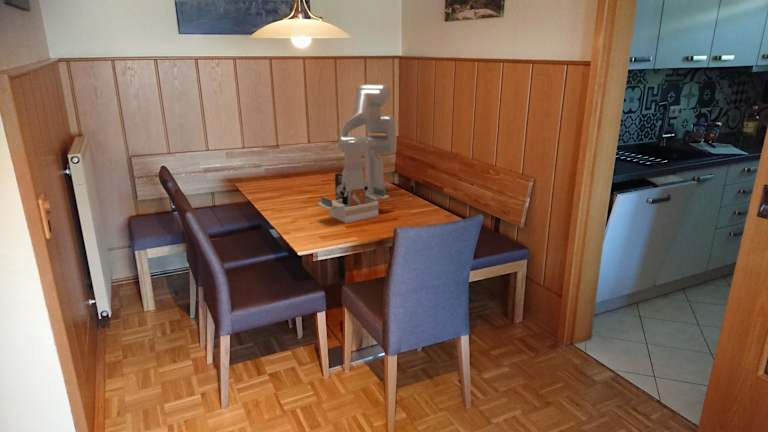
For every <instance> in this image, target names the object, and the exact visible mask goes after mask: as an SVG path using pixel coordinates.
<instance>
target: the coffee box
mask: <svg viewBox="0 0 768 432" xmlns="http://www.w3.org/2000/svg"><path fill="white" fill-rule="evenodd" d="M342 174H343V171H337V172H336V173H335V174H334V185H335V187H334V189H335V190H334V191H335V193H334V194H335V195H334V196H335V201H336V200H341V199H342V196H341V194H340V193H339V192H338V190H337V187H338V186H340V185H341V184H342ZM341 190H342V189H341ZM342 191H343V190H342Z"/></svg>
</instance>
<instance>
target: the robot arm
mask: <svg viewBox="0 0 768 432" xmlns="http://www.w3.org/2000/svg"><path fill="white" fill-rule="evenodd" d="M355 92H356V94H355V98H354V102H353V103H354V104H353V110H352V116H351V117H349V118H348V119H347V120H346V121H345V122H344V123H343V125H342V127H341V129H340V132H339V137H338V149H339V151H340V152H342V153H344V154H343V155H344V169H343V170H342V172H343V174H342V184H341V185H340V186H338V187H337V190H338V192H339V193H340V194H341V196H342V202H343V204H345V205H347V196H346V195H347V194H348V192H349V190H353V189H359V188H365V194H367V193H372V192H373V187H376V188H379V189H382V190H385V193H386V191H387V189H386V188H390V187H391V184H390V183H384V161H383V157H382V156H381V155H380V154H392V153H394V152H395V151H396V149H397V132H396V131H397V130H396V129H397V128H396V126H397V125H396V119H395V117H394V116H393V115H390V114H382V111H381V110H382V109H381V108H382V107H384V106H385V105H386V104H387V103H388V102H389V100H390V98H391V88H390V85H388V84H386V83H383V84H382V83H361V84H358V85H357V86H356V88H355ZM363 125H364V126H365V129H366V132H368V133H371V134H369V135H366V136H356V135H354V136H352V135H351V136H349V134H350V132H351V131H353V130H354V129H356V128H359V127H361V126H363ZM362 154H364V159H365V160H364V161H365V175H364V172H363V168H362V166H364V163H363V162H362ZM341 189H342V190H343V191H342V190H341Z"/></svg>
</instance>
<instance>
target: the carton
mask: <svg viewBox="0 0 768 432" xmlns="http://www.w3.org/2000/svg"><path fill="white" fill-rule="evenodd" d="M335 201H336V202H338V203H341V204H343V202H342V199H341V200H336V199H335ZM343 205H344V204H343ZM329 217H332V218H334V219H336V220H338V221H340V222H342V223H344V224H349V223H353V222H358V221H363V220H368V219H372V218H376V217H377V218H378V217H379V201H378V200H372V199H370V198H367V197H365V204H362V205H357V206H352V207H347V208H345V207H340V208H335V209H330V210H329Z"/></svg>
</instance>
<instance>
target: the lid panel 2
mask: <svg viewBox="0 0 768 432" xmlns="http://www.w3.org/2000/svg"><path fill="white" fill-rule="evenodd" d="M385 190H386V189H385ZM385 190H382V189H379V188H376V187H373V192H372V193H367V194H365V197H367V198H369V199H372V200H375V201H380V200H385V199H389V198H391V197H390V195H388V194H387V195H386V194H385V193H386V192H385Z"/></svg>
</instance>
